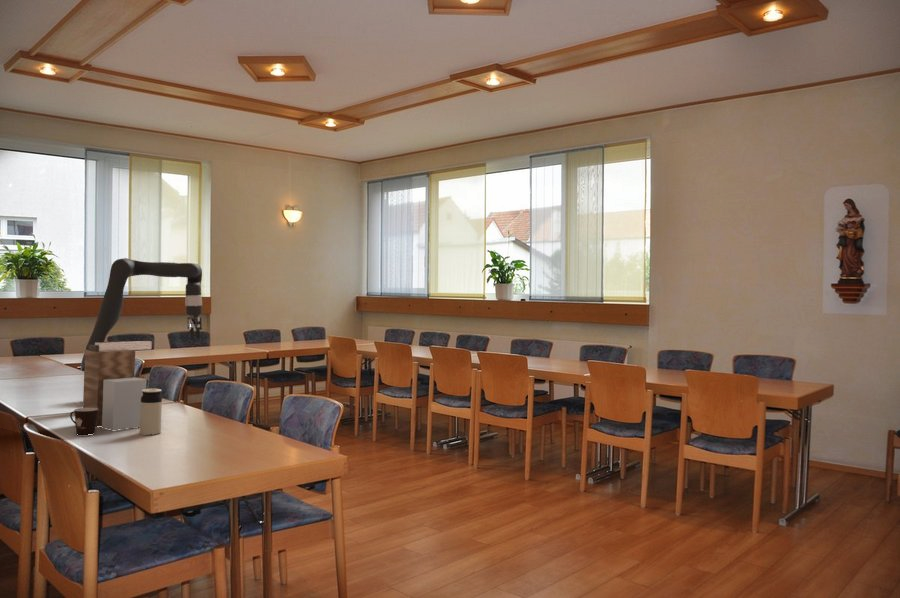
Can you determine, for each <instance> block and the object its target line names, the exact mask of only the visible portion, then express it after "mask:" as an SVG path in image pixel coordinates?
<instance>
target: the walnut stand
mask: <svg viewBox="0 0 900 598" xmlns="http://www.w3.org/2000/svg"><path fill="white" fill-rule="evenodd" d="M83 369H84V371H83V395H82V396H83V397H82V399H83V400H82V401H83V402H82V408H98V415H97V421H96V427H97V426H102V410H103V382H104V380H108V379H121V378H135V371H136V350H119V351H99V346H98V345H89V350H86V349H85V350H84V368H83Z"/></svg>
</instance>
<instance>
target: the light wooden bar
mask: <svg viewBox="0 0 900 598" xmlns="http://www.w3.org/2000/svg"><path fill="white" fill-rule="evenodd" d="M152 343H153V342H152V341H150V340H149V341H148V340H143V341H141V340H140V341H139V340H138V341H111V342H110V341H104V342H100V343H95V345H98V346H99V351H119V350H134V351H141V350H152Z"/></svg>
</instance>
